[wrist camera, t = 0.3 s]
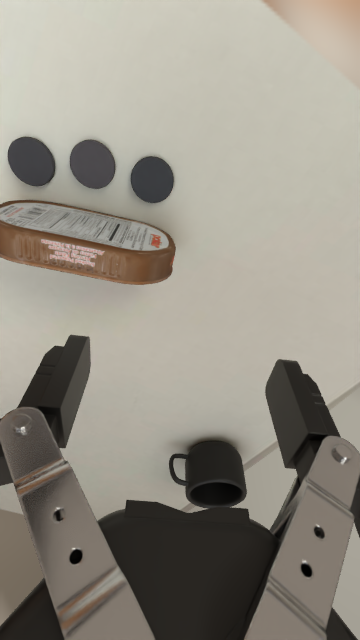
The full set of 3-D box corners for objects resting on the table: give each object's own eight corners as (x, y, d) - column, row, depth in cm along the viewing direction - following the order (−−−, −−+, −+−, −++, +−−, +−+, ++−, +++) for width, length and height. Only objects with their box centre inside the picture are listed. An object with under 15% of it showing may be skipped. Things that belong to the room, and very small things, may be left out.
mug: (250, 442, 50) (258, 488, 44) (224, 469, 55) (229, 513, 49) (180, 425, 48) (180, 471, 42) (160, 455, 53) (157, 500, 47)
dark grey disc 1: (7, 133, 25) (3, 134, 24) (53, 140, 25) (50, 141, 25) (14, 181, 27) (11, 182, 27) (57, 187, 27) (54, 189, 27)
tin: (14, 220, 29) (-38, 260, 22) (10, 185, 27) (-47, 217, 20) (172, 253, 31) (169, 300, 24) (179, 223, 29) (178, 263, 22)
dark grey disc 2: (70, 136, 25) (68, 137, 25) (115, 143, 25) (114, 144, 25) (73, 183, 27) (71, 185, 27) (114, 189, 27) (113, 191, 27)
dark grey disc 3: (132, 153, 26) (131, 154, 25) (176, 159, 26) (176, 161, 25) (130, 198, 28) (129, 199, 27) (170, 203, 28) (170, 205, 28)
